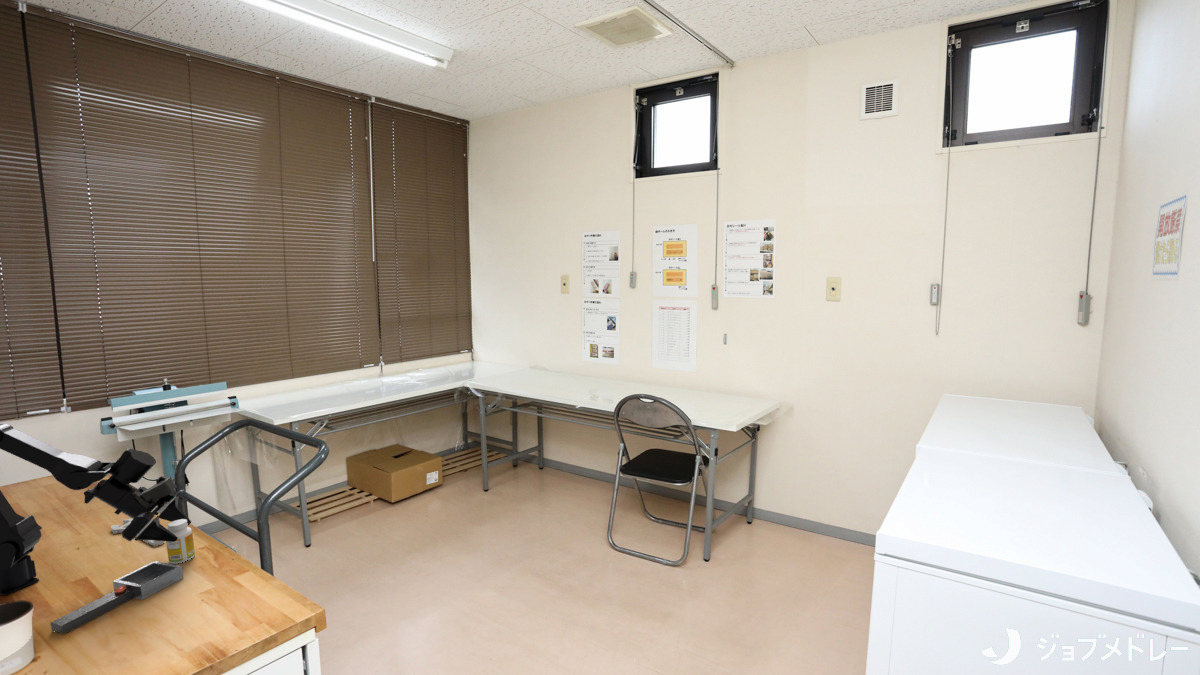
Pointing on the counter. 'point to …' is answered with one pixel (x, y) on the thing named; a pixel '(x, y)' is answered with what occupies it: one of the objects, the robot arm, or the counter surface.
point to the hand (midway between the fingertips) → (183, 531)
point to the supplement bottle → (180, 542)
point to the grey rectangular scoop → (123, 593)
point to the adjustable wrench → (126, 522)
